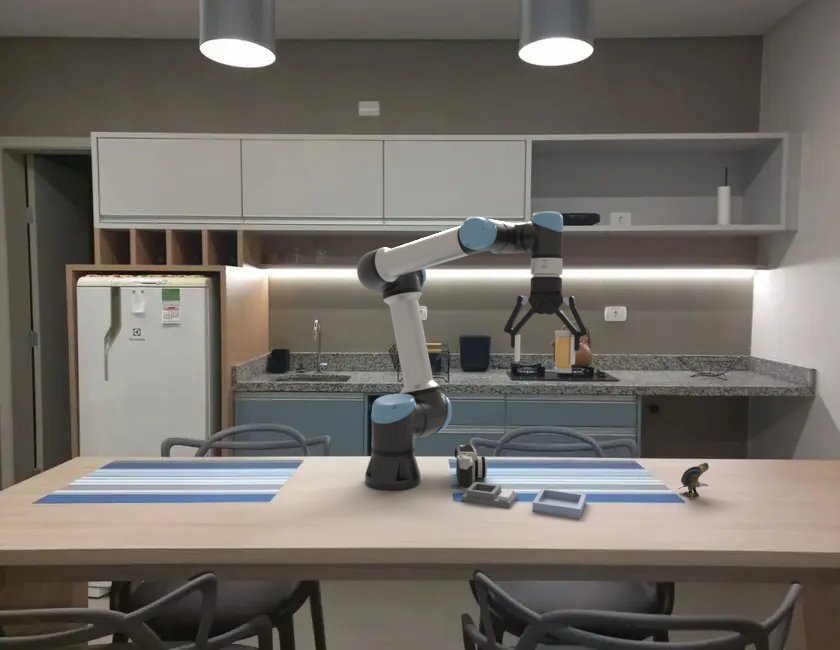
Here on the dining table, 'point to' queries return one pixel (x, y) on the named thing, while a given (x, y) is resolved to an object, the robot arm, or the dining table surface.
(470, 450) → the camera
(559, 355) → the fuse
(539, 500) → the parts tray
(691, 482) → the eagle figurine
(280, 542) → the dining table surface
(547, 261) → the robot arm
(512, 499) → the fuse block
